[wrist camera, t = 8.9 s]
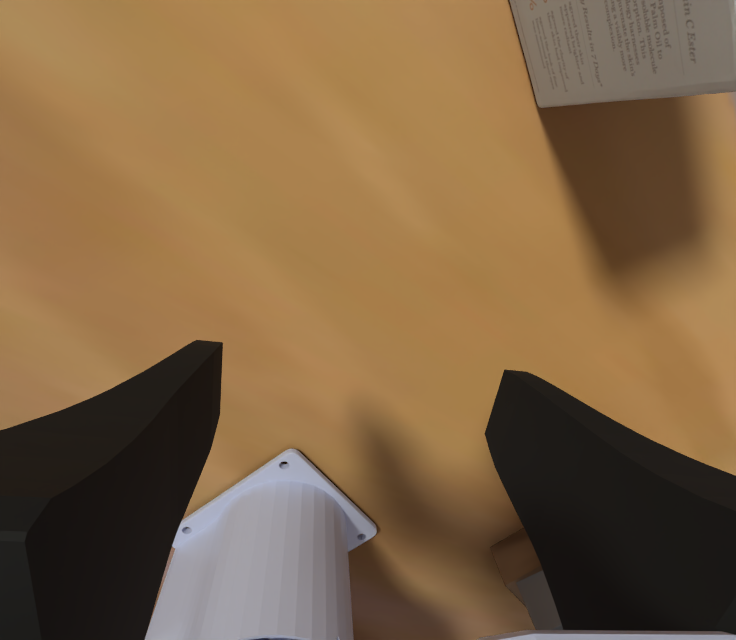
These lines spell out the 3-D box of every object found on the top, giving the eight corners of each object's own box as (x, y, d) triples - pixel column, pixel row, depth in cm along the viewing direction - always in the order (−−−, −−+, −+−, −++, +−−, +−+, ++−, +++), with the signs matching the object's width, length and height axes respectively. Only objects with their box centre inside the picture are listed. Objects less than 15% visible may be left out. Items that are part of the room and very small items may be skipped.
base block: (531, 588, 32) (551, 632, 29) (488, 542, 30) (505, 585, 27) (608, 545, 31) (635, 587, 28) (569, 495, 29) (595, 534, 26)
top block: (546, 626, 29) (569, 679, 26) (516, 582, 27) (538, 635, 24) (620, 592, 28) (652, 643, 26) (594, 546, 26) (626, 595, 24)
